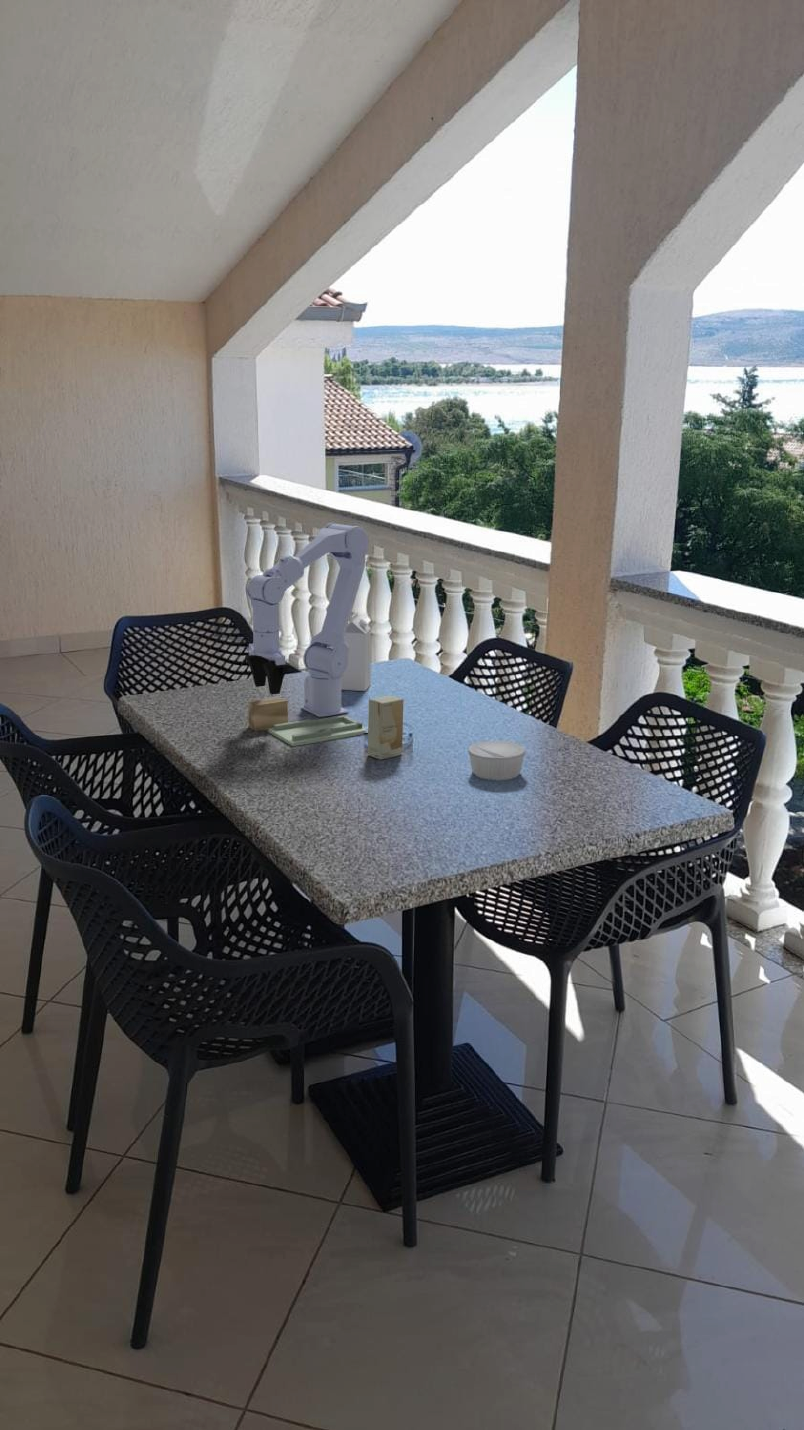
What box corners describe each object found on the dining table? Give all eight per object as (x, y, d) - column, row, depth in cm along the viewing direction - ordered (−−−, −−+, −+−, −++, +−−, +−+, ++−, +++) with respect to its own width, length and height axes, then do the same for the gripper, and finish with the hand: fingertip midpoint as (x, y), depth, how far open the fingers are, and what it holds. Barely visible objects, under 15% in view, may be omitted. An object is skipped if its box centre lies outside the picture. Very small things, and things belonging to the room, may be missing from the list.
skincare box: (380, 760, 228) (380, 703, 225) (366, 755, 231) (367, 699, 228) (403, 754, 232) (404, 698, 229) (390, 749, 236) (390, 694, 232)
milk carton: (338, 690, 282) (337, 616, 276) (344, 683, 289) (343, 611, 283) (365, 691, 281) (365, 617, 275) (370, 684, 287) (371, 612, 282)
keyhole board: (268, 732, 247) (267, 724, 246) (342, 719, 256) (342, 712, 256) (292, 746, 237) (292, 738, 236) (369, 733, 247) (369, 725, 246)
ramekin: (460, 779, 218) (461, 753, 217) (476, 762, 229) (477, 737, 227) (516, 786, 215) (517, 760, 213) (530, 768, 225) (531, 744, 223)
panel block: (248, 727, 250) (248, 701, 249) (280, 722, 254) (280, 697, 253) (255, 731, 247) (254, 705, 246) (287, 726, 252) (287, 700, 250)
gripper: (235, 626, 248) (237, 685, 252) (263, 638, 237) (265, 699, 241) (264, 623, 252) (265, 681, 256) (293, 634, 240) (294, 695, 244)
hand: (267, 689), depth 248 cm, fingers open, 7 cm apart
